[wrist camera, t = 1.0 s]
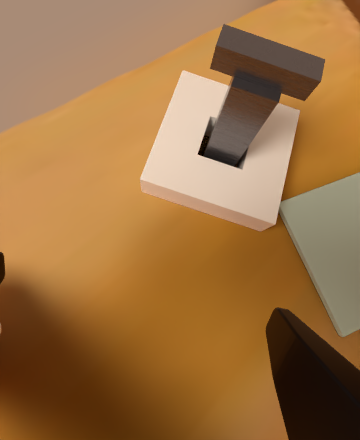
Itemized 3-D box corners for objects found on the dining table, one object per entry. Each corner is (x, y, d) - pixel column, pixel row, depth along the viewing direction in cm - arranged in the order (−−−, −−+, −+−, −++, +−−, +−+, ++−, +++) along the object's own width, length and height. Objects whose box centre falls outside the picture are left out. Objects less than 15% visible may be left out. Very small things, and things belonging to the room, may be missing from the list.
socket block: (260, 231, 24) (275, 224, 21) (141, 191, 23) (139, 179, 20) (284, 129, 27) (300, 110, 24) (179, 93, 26) (182, 70, 24)
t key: (242, 180, 25) (319, 91, 13) (185, 161, 25) (212, 54, 13) (248, 155, 25) (326, 50, 14) (194, 136, 25) (226, 15, 14)
